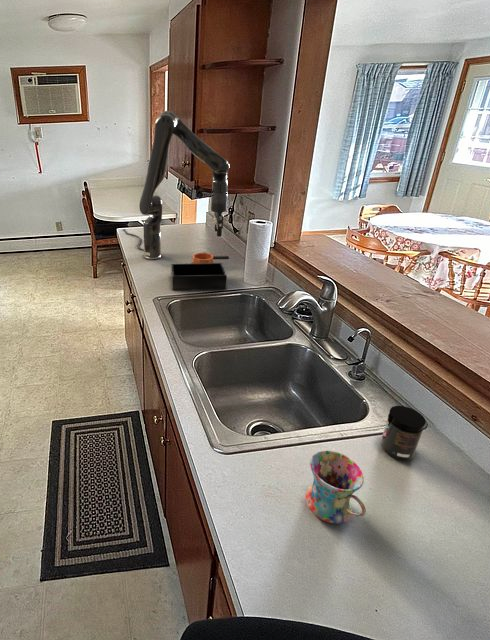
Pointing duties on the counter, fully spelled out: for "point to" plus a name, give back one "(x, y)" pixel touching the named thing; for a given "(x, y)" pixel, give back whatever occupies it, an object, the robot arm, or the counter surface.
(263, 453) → the counter surface
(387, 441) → the supplement container
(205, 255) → the pan
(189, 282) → the black storage tray
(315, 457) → the mug
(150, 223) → the robot arm
